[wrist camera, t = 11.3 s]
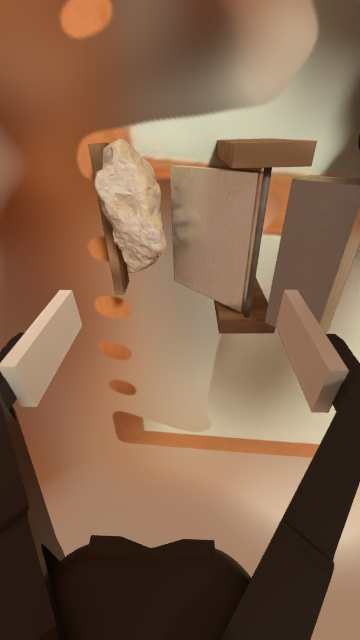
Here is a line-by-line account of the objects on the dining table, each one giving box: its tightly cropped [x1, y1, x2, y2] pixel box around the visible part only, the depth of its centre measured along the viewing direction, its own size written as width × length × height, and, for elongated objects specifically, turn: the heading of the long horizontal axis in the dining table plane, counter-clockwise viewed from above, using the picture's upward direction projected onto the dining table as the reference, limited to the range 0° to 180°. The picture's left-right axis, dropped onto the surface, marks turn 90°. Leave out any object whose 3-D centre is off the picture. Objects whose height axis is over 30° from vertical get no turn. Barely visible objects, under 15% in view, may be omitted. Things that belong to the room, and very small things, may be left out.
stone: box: [94, 138, 167, 273], centre depth 31 cm, size 8×12×10 cm
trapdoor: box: [170, 165, 360, 333], centre depth 27 cm, size 13×19×3 cm
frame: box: [88, 139, 317, 333], centre depth 30 cm, size 18×20×13 cm
